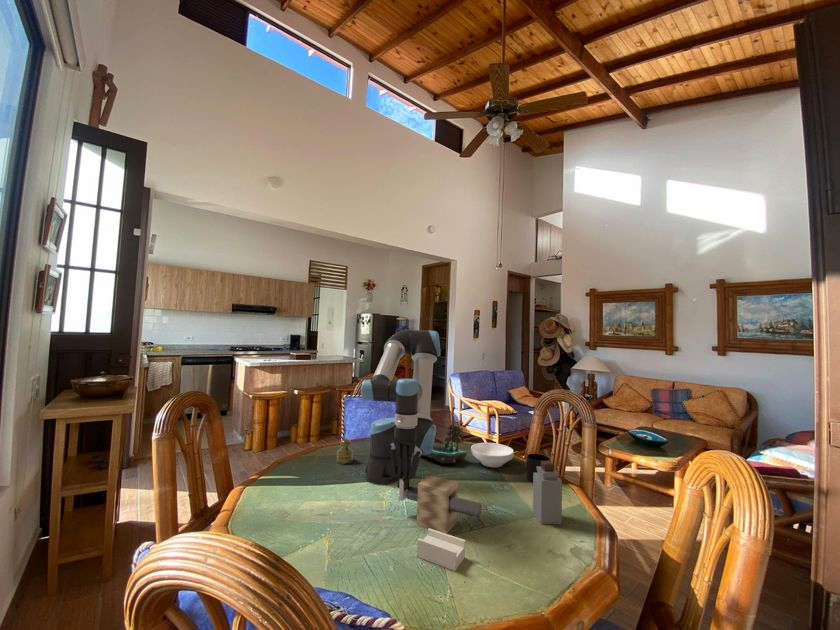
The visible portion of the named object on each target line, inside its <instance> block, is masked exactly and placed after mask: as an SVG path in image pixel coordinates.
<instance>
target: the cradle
mask: <svg viewBox="0 0 840 630" xmlns="http://www.w3.org/2000/svg"><path fill="white" fill-rule="evenodd" d="M416 543H417V544H416V547H417V548H416V557H417V558H420V559H422V560H426V561H428V562H430V563H433V564H436V565H438V566H440V567H443V568H446V569H448V570H452V571H454V572H456V571H457V569H458V568H459V566H460V565H461V564H462V562H463V561H464V560H465V558H466V540H465V539H464V538H460V537H457V536H453V535H451V534H448V533H447V534H445V533H442V532H439V531H436V530H433V529H430V528H429V529H428V528H427V534H426V536H425V537H424V538H421V537H418V538H417V542H416Z"/></svg>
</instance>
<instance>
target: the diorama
mask: <svg viewBox="0 0 840 630" xmlns="http://www.w3.org/2000/svg"><path fill="white" fill-rule="evenodd" d="M459 427H462V425H459V424H458V425H457V426H455V422H452V423H451V424H450V425H449V426H448V427H447V429H448V430H447V431H446V432H445V433H446V436H447V437H445V440H444V439H443V438H442V437H440V436H437V435H438V430H436V434H435V440H434V445H433V449H432V451H431V453H430V454H422V455H421V456H422V457H425V458H431V459H433V460H435V461H437V462H439V463H441V464H442V465H446V464H447V465H448V464H450V463H451V464H452V463H454V464H455V463H456V461H457V460H462V459H464V458H466V457H467V451H465V450H464V451H463V450H461V449H459V444H463V443H464V441H465V440H464V439H463V437H464V433H462V431H463V429H462V428H459ZM450 442H451V443H450ZM455 443H456V447H455Z"/></svg>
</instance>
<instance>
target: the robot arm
mask: <svg viewBox="0 0 840 630" xmlns="http://www.w3.org/2000/svg"><path fill="white" fill-rule="evenodd" d="M405 355H406V356H411V359H412V360H413V371H412V372H413V373H412V378H399V379H398V380H397V381H396V380H393V378H394V376H395V373H396V370H397V369H398V365H399V363H400V359H401V358H404V357H403V356H405ZM440 356H441V344H440V336H439V332H438V331H436V330H430V329H427V330H425V329H424V330H422V329H421V330H420V329H418V330H417V329H416V330H415V329H404V330H400V331H398V332H396V333H394V334H393V335H392V336H390V337H389V338H388V339H387V340H386V342H385V344H384V346H383V354H382V356H381V357H380V360H379V362H378V365H377V367H376V369H375V372H374V374H373V376H372V377H371V379H369V378H368V379H364V380H363V381H362V384H361V386H360V395H361V399H362V400H364V401H371V402H389V403H390V402H391V403H395V412H394V414H395V415H394V417H385V418H379V419H376V420H374V421H373V422H372V423H371V425H370V433H369V434H370V436H369V437H370V439H369V440H370V441H369V457H368V461H367V465H366V466H365V469H364V479H365V481H367V482H369V483H371V484H375V485H390V484H394V483H397V489H398V490H399V491H398V501H401V502H403V501H404V500H406V499H407V490H408V488H409V486H410V483H411V482H410V481H411V480H412V479H414V478H416V476H417V471H418V468H419V467H418V466H419V463H420V460H421V456H422V454H430V453H431V451H432V449H433V445H434V441H435V438H436V437H435V436H436V435H437V434H436V433H437V432H436V431H437V425H436V424H434V419H432V418H431V405H432V402H431V401H432V385H433V371H434V363H436V362H437V360H438V357H440ZM412 457H413V458H412Z"/></svg>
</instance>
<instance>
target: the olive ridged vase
mask: <svg viewBox="0 0 840 630" xmlns="http://www.w3.org/2000/svg"><path fill="white" fill-rule="evenodd" d="M351 443H352V440H350V439H348V438H344V439H342V440H340V441H339V444H340V445H341V447H340V448H339V449H338V450H337V451H336V463H337V464H340V463H341V464H340V465H347V464H346V463H348V464H351V463H352V462H353V461H354V460H353V459H354V458H353V457H354V456H353V455H354V450H353V449H351V448H350V447H349V445H350V444H351ZM350 462H351V463H350Z"/></svg>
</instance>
